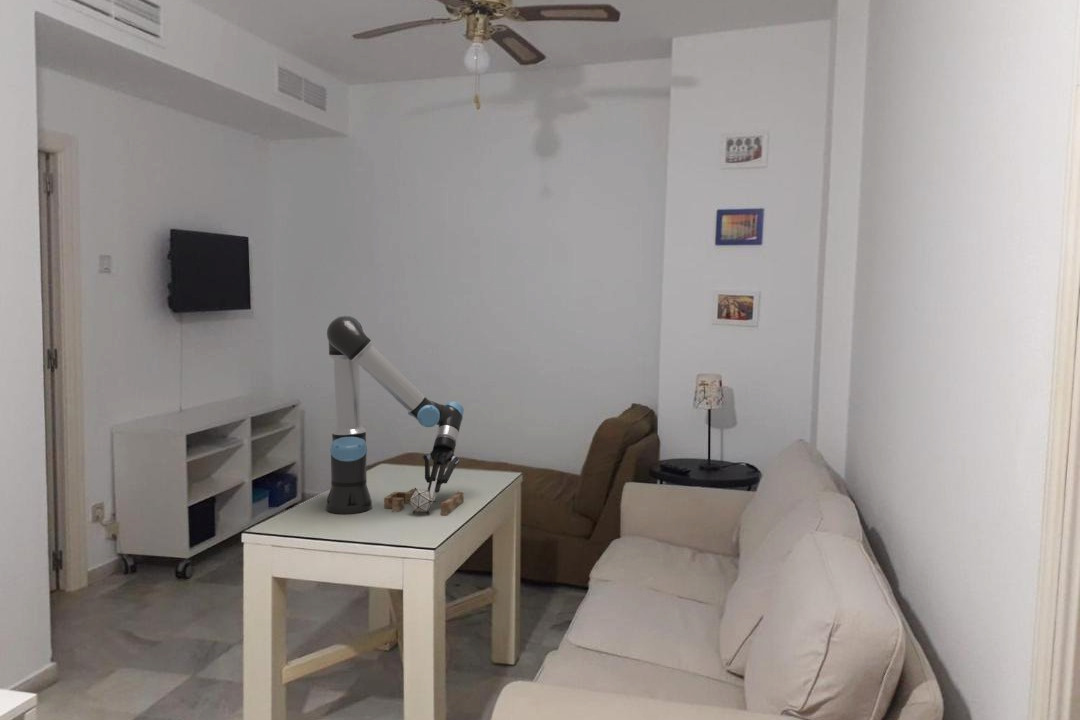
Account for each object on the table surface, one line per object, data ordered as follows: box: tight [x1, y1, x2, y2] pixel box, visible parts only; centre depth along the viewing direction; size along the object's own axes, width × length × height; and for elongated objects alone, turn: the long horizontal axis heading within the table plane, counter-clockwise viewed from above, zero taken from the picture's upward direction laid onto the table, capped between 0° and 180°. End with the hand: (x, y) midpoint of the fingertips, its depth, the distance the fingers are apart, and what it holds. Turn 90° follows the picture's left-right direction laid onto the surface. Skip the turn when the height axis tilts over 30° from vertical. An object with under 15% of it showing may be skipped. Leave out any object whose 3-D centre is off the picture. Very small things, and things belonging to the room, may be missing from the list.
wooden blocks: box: [383, 488, 464, 516], centre depth 267 cm, size 18×24×4 cm
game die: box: [407, 487, 436, 515], centre depth 258 cm, size 9×8×10 cm
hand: (431, 500), depth 262 cm, fingers closed
